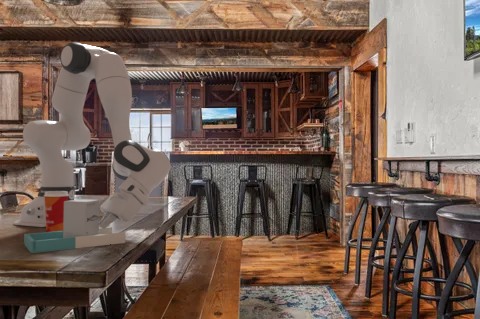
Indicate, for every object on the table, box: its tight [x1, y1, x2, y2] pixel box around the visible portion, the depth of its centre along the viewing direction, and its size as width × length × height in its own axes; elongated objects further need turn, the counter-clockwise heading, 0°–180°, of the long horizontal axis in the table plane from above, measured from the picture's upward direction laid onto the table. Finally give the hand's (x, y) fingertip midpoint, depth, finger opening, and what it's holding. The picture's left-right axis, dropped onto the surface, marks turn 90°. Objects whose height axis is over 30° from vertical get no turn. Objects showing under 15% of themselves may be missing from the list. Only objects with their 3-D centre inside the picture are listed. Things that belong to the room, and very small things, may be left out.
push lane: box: [23, 226, 126, 254], centre depth 119 cm, size 25×13×3 cm, turn 125°
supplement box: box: [63, 198, 100, 238], centre depth 120 cm, size 7×7×13 cm
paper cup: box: [44, 191, 69, 232], centre depth 133 cm, size 8×8×14 cm
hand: (100, 226), depth 123 cm, fingers closed
